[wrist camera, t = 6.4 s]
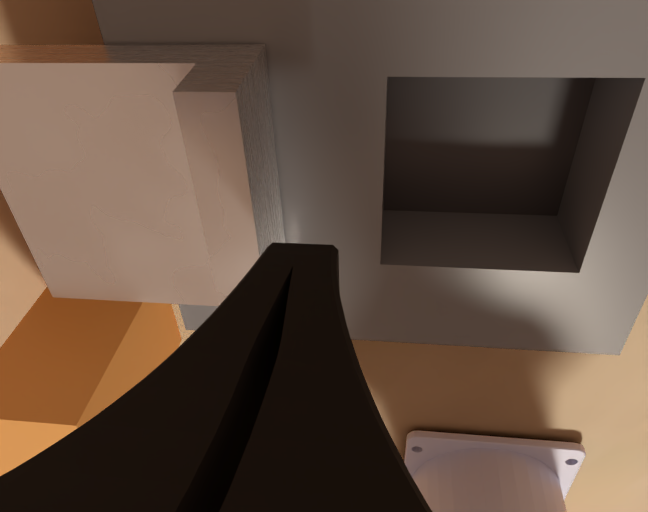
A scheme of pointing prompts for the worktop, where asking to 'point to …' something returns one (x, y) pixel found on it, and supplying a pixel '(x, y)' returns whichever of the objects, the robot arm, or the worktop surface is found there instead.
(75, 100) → the plate
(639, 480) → the worktop surface
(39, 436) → the plug
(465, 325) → the socket board
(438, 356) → the worktop surface
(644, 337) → the worktop surface
